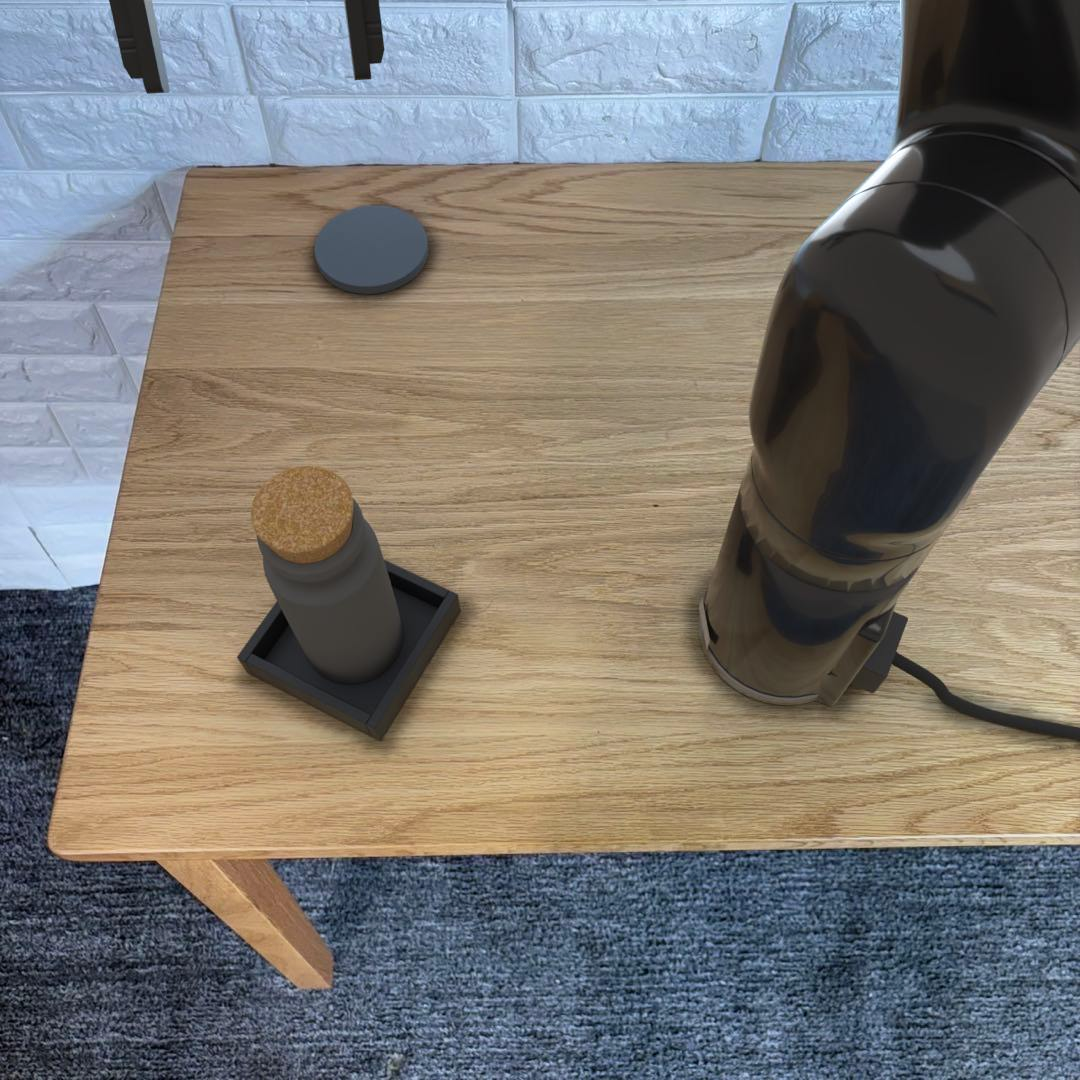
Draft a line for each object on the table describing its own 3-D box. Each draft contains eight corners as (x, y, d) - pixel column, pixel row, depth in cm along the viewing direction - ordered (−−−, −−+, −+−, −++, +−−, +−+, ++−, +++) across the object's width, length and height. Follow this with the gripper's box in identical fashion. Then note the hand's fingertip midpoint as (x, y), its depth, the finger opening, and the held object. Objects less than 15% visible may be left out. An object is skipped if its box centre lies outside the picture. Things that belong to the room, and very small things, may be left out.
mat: (448, 235, 76) (447, 227, 75) (391, 309, 72) (389, 301, 72) (355, 199, 78) (353, 191, 77) (294, 270, 74) (292, 262, 74)
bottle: (389, 694, 57) (344, 572, 44) (291, 675, 58) (219, 549, 45) (415, 604, 60) (380, 465, 47) (322, 587, 61) (262, 445, 48)
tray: (461, 611, 60) (458, 593, 58) (380, 742, 56) (374, 728, 54) (333, 550, 62) (326, 531, 60) (246, 672, 58) (236, 657, 56)
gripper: (-70, -465, 31) (66, 100, 38) (385, -461, 33) (437, 74, 40) (0, -368, 38) (105, 98, 45) (376, -369, 40) (422, 76, 47)
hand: (262, 86), depth 43 cm, fingers open, 8 cm apart
